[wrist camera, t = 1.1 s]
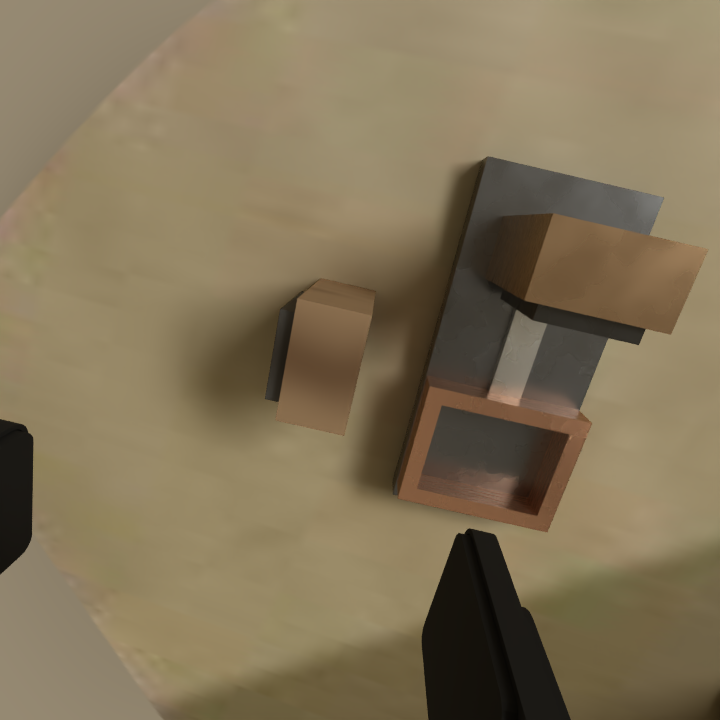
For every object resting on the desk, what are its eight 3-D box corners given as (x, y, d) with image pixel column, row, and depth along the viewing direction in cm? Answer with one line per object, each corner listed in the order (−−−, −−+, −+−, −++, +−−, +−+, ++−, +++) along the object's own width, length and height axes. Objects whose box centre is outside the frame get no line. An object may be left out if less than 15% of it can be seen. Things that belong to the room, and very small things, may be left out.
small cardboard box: (354, 382, 31) (344, 435, 23) (291, 368, 31) (260, 416, 23) (375, 291, 29) (372, 315, 21) (308, 275, 29) (280, 294, 21)
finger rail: (526, 512, 33) (579, 623, 24) (392, 482, 33) (394, 581, 24) (649, 199, 26) (786, 186, 17) (482, 159, 26) (532, 127, 17)
